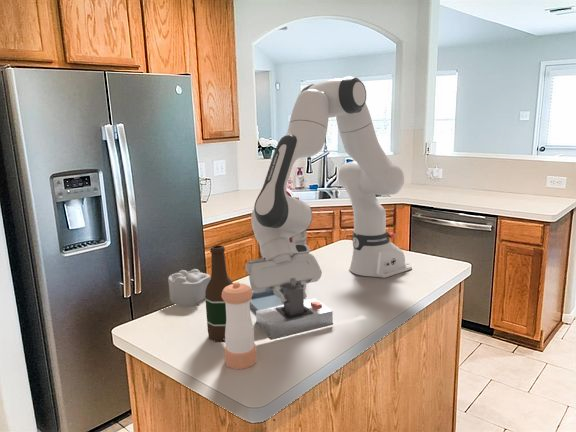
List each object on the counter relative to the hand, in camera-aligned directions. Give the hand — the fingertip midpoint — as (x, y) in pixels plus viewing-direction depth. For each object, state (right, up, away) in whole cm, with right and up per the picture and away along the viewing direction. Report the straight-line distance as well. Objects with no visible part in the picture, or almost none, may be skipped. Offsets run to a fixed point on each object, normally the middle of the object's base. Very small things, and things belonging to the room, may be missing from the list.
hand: (294, 300), depth 122 cm
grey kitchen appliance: (0, -7, +2) cm, 7 cm away
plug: (0, -4, +2) cm, 5 cm away
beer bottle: (-18, -9, -3) cm, 21 cm away
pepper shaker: (-13, -11, -15) cm, 23 cm away
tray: (-6, -4, +15) cm, 17 cm away
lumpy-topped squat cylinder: (-33, -4, +23) cm, 40 cm away
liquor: (+2, +1, +41) cm, 41 cm away
